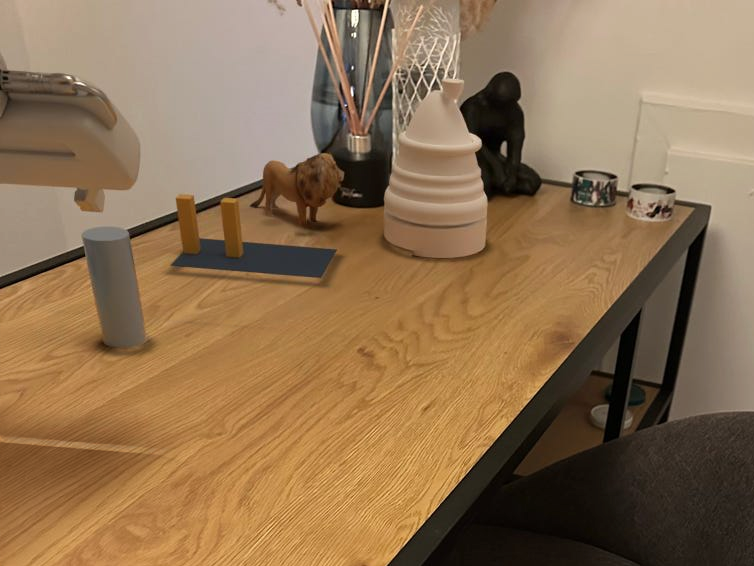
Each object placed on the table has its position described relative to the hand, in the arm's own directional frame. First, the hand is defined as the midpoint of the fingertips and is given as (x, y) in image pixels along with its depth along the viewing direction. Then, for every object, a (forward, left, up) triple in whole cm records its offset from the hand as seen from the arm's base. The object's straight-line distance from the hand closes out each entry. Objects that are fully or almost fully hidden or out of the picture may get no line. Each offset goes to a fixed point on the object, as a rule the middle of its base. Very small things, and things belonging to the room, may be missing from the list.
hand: (32, 199), depth 70 cm
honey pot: (+26, +50, -16) cm, 59 cm away
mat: (+6, +37, -16) cm, 41 cm away
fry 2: (+4, +37, -15) cm, 40 cm away
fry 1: (-1, +37, -15) cm, 40 cm away
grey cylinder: (0, +12, -16) cm, 20 cm away
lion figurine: (+8, +53, -16) cm, 56 cm away
